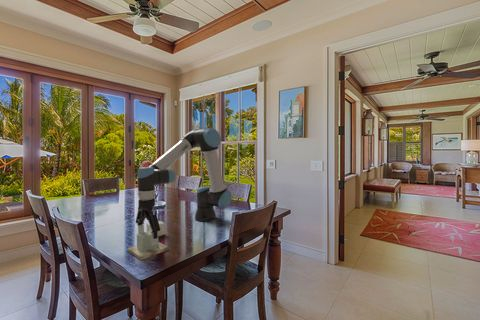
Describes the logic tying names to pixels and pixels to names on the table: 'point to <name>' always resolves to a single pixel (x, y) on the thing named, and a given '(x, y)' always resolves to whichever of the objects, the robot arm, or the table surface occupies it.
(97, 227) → the table surface
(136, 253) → the base plate
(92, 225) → the table surface
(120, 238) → the table surface
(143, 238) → the sage brick
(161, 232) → the cream brick
